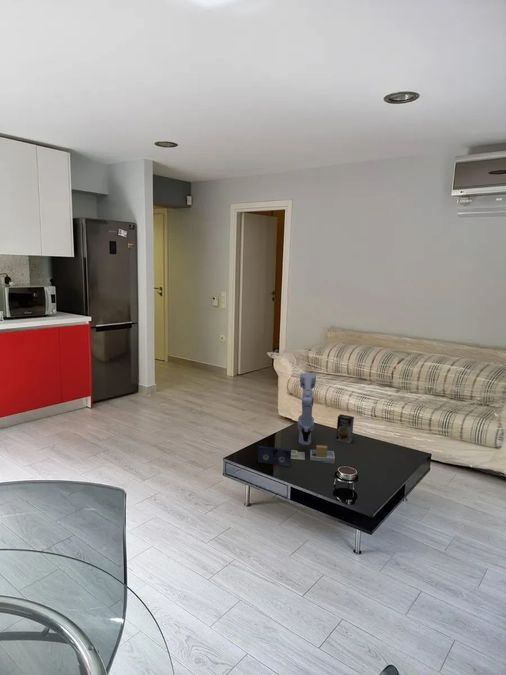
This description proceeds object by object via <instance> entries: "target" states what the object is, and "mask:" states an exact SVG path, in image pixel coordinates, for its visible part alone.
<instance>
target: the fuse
mask: <svg viewBox="0 0 506 675" xmlns="http://www.w3.org/2000/svg"><path fill="white" fill-rule="evenodd" d="M315 448H316V449H315V450H316V454H315V457H327V451H328V445H321V444H320V445H319V444H316V447H315Z"/></svg>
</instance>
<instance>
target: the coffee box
mask: <svg viewBox="0 0 506 675" xmlns="http://www.w3.org/2000/svg"><path fill="white" fill-rule="evenodd" d="M354 421H355V417H354V416H351V415H347V414H341V413H340V414H339V415H338V416H337V421H336V422H337V423H336V433H335V434H336V435H335V436H336V438H335V441H336V442H341V443H344V444H350V443H352V441H353V432H354Z"/></svg>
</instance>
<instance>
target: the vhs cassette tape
mask: <svg viewBox="0 0 506 675" xmlns="http://www.w3.org/2000/svg"><path fill="white" fill-rule="evenodd" d="M291 450H292V449H286V448H279V447H271V446H264V445H258V448H257V463H261V464H267V465H275V466H283V467H288V468H290V467H291V464H292V462H291V461H292V459H291Z"/></svg>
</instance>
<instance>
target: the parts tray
mask: <svg viewBox="0 0 506 675" xmlns="http://www.w3.org/2000/svg"><path fill="white" fill-rule="evenodd" d="M309 451H310V452H309V453H310V457H309V458H310V461H318V462H323V463H324V464H333V465H334V464H336V463H335V460H336V457H335V451H334V450H331V451H330V450H327V457H316V456H315V455H316V449H310V450H309Z"/></svg>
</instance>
